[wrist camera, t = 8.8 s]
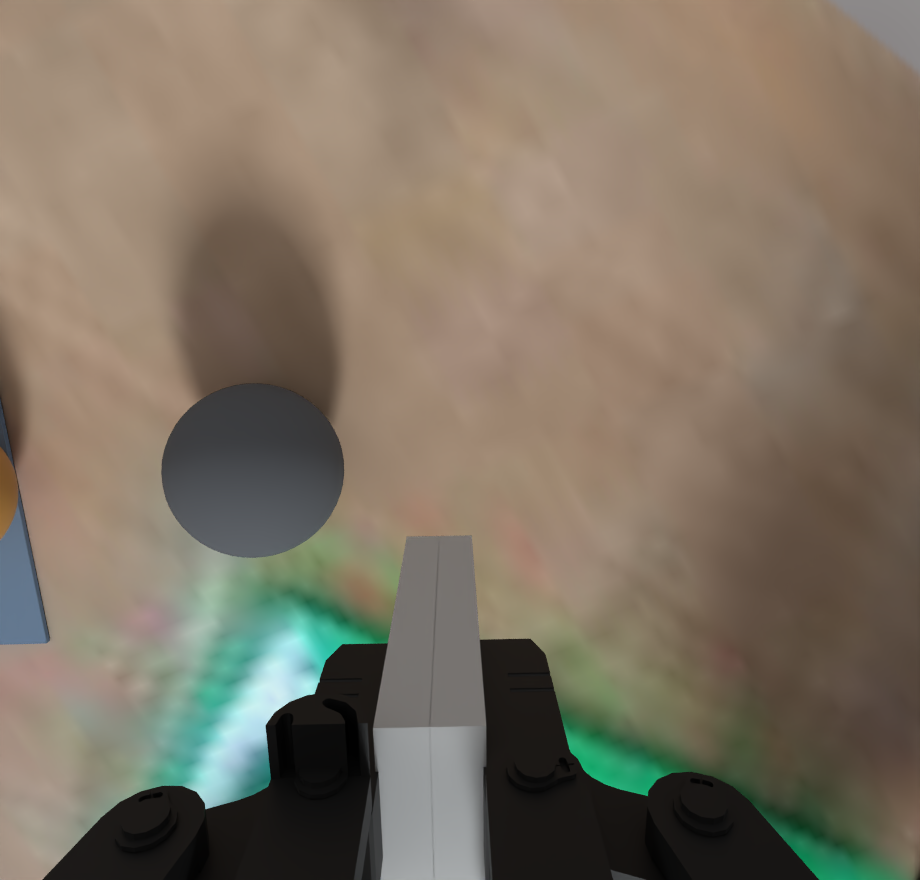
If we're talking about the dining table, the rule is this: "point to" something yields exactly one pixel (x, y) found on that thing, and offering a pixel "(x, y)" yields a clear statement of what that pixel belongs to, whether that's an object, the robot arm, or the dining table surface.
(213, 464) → the charcoal grey ball
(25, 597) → the blue square mat
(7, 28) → the dining table surface
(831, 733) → the dining table surface
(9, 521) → the orange ball
